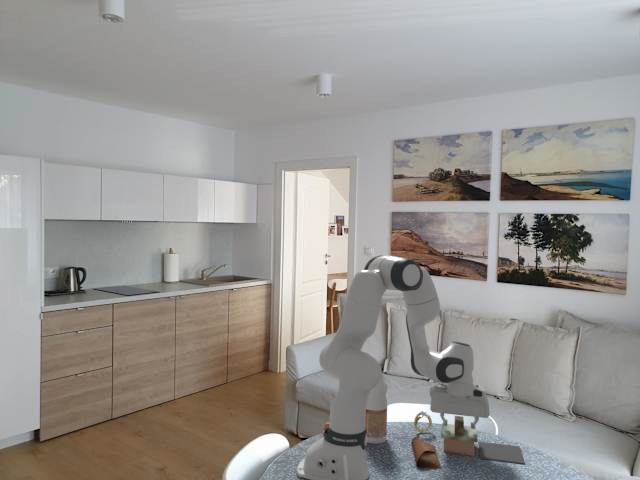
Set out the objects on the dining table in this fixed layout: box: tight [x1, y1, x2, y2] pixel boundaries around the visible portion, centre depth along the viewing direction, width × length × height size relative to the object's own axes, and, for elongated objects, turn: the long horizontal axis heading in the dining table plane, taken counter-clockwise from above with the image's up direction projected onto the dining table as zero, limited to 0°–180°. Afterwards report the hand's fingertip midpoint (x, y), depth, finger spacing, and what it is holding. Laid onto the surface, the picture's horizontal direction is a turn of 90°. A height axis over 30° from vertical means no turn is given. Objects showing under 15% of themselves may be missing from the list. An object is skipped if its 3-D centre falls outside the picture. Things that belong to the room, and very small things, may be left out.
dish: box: [443, 438, 475, 456], centre depth 176 cm, size 10×10×5 cm
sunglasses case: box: [411, 436, 442, 470], centre depth 168 cm, size 18×7×7 cm
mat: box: [477, 441, 526, 465], centre depth 172 cm, size 14×14×1 cm
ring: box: [413, 410, 433, 434], centre depth 189 cm, size 7×3×8 cm, turn 101°
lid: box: [440, 415, 478, 443], centre depth 176 cm, size 12×12×5 cm
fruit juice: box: [365, 361, 388, 445], centre depth 181 cm, size 9×9×28 cm
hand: (459, 426), depth 176 cm, fingers open, 8 cm apart
